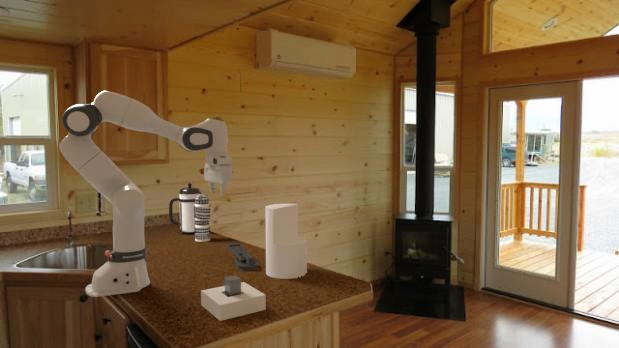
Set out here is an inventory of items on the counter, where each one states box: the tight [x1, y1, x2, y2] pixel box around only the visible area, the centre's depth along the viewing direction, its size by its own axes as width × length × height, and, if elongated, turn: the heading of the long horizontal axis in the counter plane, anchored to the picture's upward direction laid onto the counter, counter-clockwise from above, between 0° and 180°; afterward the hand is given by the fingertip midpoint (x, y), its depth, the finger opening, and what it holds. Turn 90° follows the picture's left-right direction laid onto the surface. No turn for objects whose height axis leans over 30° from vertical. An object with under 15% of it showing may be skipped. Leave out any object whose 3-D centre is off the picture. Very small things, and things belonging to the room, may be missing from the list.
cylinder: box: [264, 203, 308, 280], centre depth 185 cm, size 17×17×28 cm
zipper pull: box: [225, 242, 259, 272], centre depth 200 cm, size 9×7×25 cm
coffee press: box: [168, 182, 203, 236], centre depth 263 cm, size 17×16×30 cm
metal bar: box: [224, 275, 242, 297], centre depth 147 cm, size 4×4×10 cm
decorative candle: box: [194, 194, 212, 243], centre depth 245 cm, size 9×9×25 cm
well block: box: [200, 281, 267, 322], centre depth 147 cm, size 16×16×5 cm
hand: (217, 193), depth 177 cm, fingers open, 8 cm apart
